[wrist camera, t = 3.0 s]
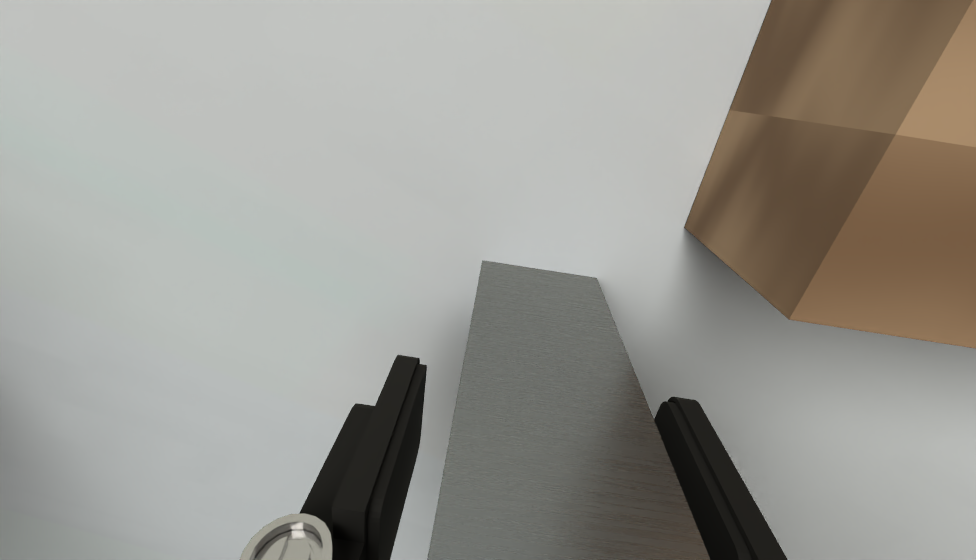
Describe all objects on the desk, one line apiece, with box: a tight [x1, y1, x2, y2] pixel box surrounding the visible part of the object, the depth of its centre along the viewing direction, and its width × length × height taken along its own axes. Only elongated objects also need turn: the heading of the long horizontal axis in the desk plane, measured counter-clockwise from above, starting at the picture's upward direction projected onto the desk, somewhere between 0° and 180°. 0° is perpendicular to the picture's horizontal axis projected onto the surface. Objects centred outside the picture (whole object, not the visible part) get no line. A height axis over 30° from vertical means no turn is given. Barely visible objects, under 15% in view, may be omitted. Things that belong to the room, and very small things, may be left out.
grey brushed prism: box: [427, 261, 710, 560], centre depth 9 cm, size 4×4×13 cm
